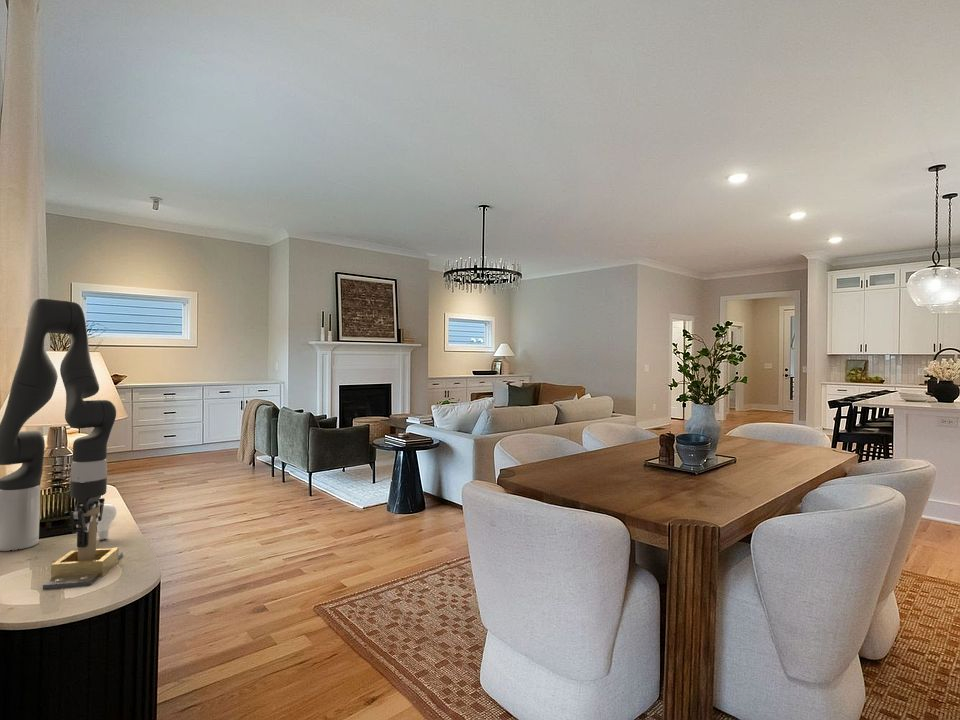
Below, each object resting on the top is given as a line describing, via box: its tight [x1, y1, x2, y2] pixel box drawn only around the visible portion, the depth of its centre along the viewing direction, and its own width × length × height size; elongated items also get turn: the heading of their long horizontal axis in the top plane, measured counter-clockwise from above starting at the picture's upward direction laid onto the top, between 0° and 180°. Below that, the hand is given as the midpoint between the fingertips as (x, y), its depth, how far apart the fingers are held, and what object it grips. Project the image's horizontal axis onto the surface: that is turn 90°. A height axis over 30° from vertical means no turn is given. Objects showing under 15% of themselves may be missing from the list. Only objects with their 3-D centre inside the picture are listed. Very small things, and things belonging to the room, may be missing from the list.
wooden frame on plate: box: [42, 547, 124, 590], centre depth 132 cm, size 11×20×4 cm, turn 16°
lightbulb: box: [97, 502, 117, 541], centre depth 155 cm, size 6×6×11 cm
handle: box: [77, 506, 100, 561], centre depth 132 cm, size 5×6×15 cm
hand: (86, 543), depth 132 cm, fingers closed on handle, 4 cm apart
